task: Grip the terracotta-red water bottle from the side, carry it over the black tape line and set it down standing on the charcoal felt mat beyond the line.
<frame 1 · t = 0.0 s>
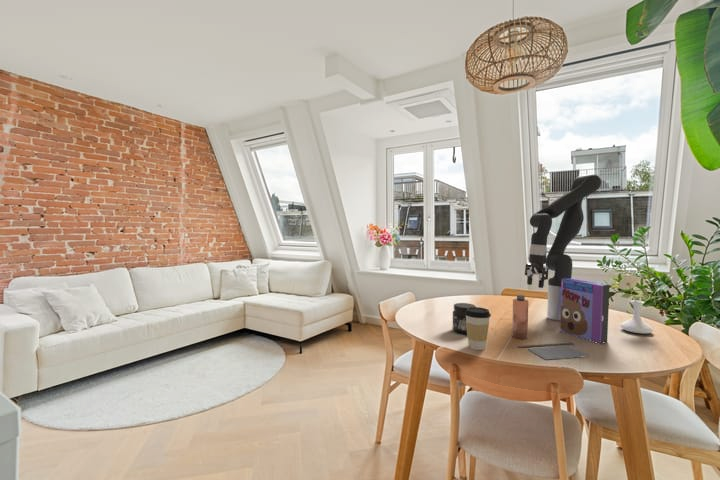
hand: (534, 286, 174), 17 cm above the table, tool pointing down, fingers open, 8 cm apart
coffee cup: (476, 347, 137), on the table
flower in vase: (633, 331, 156), on the table
supplement container: (464, 332, 157), on the table
tape line: (545, 345, 139), on the table
water bottle: (519, 337, 149), on the table
felt mat: (558, 353, 131), on the table
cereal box: (582, 337, 150), on the table
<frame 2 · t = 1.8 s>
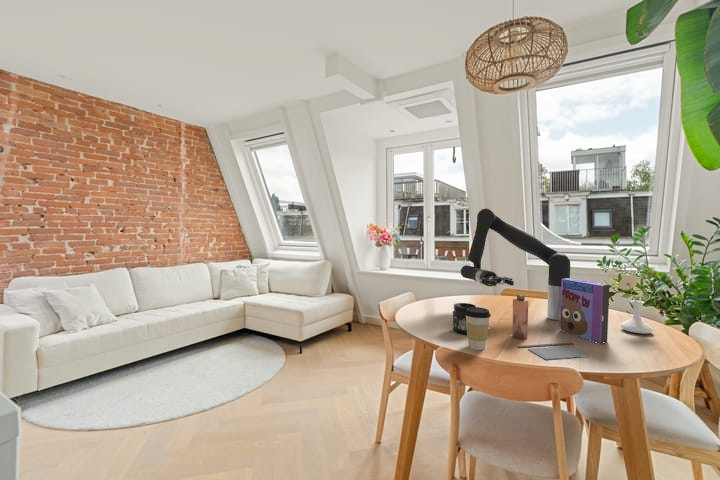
hand: (504, 283, 160), 21 cm above the table, tool horizontal, fingers open, 8 cm apart
nothing on the table moved.
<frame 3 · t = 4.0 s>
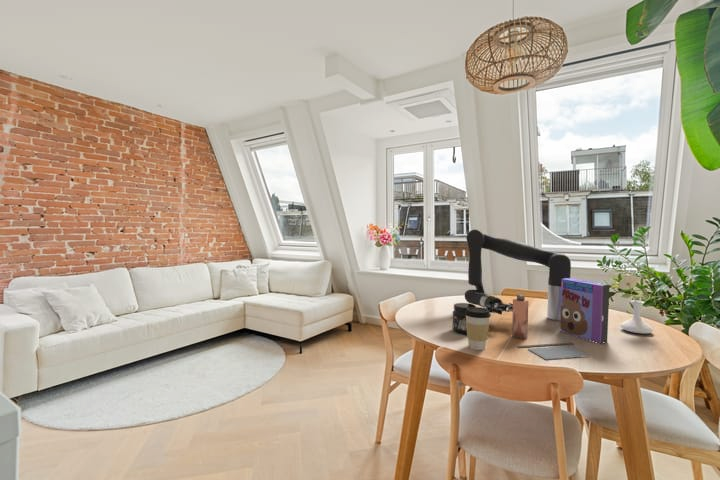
hand: (510, 311, 156), 9 cm above the table, tool horizontal, fingers open, 8 cm apart
nothing on the table moved.
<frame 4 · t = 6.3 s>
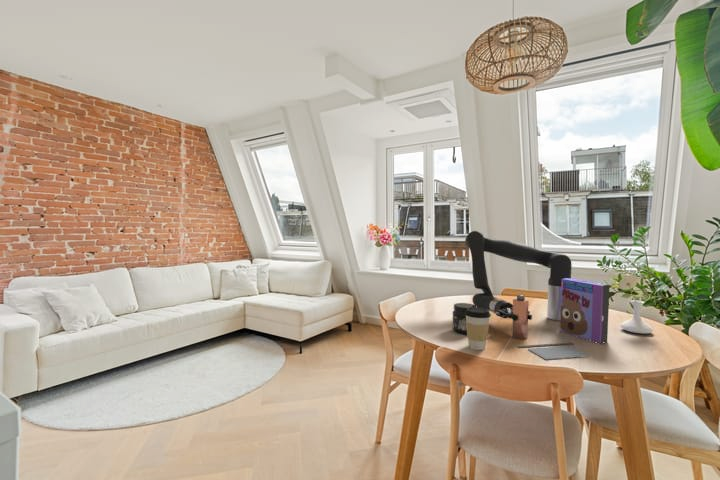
hand: (523, 317, 146), 9 cm above the table, tool horizontal, fingers closed on water bottle, 6 cm apart
water bottle: (519, 337, 149), on the table, touching gripper
everything else where it was.
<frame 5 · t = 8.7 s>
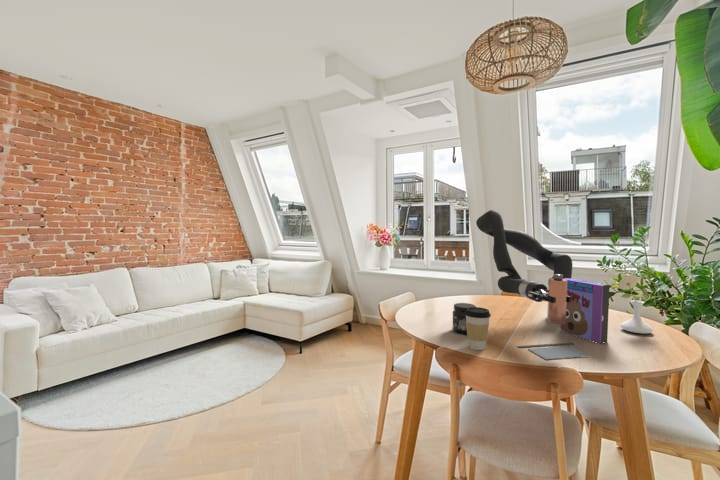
hand: (562, 300, 128), 21 cm above the table, tool horizontal, fingers closed on water bottle, 6 cm apart
water bottle: (556, 322, 131), point 12 cm above the table, touching gripper
everything else where it was.
when the fingers open (11 cm above the table, at t = 11.1 s): water bottle drops 1 cm, resting on felt mat.
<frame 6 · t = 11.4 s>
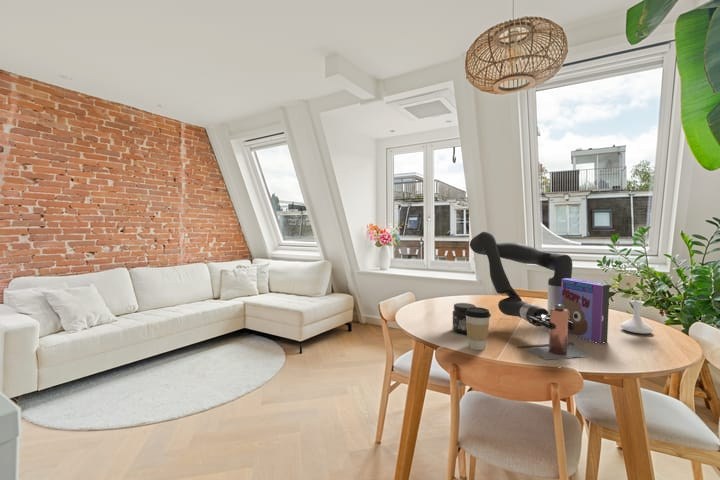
hand: (562, 326, 128), 11 cm above the table, tool horizontal, fingers open, 8 cm apart
water bottle: (557, 351, 131), resting on felt mat
everything else where it was.
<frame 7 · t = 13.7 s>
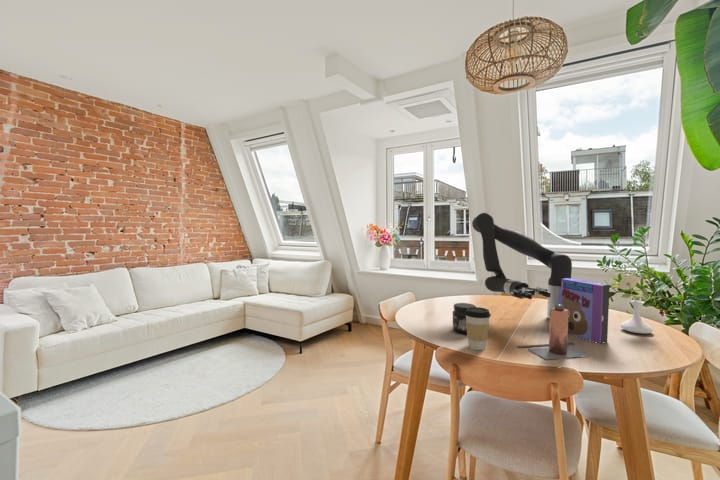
hand: (540, 295, 143), 19 cm above the table, tool horizontal, fingers open, 8 cm apart
nothing on the table moved.
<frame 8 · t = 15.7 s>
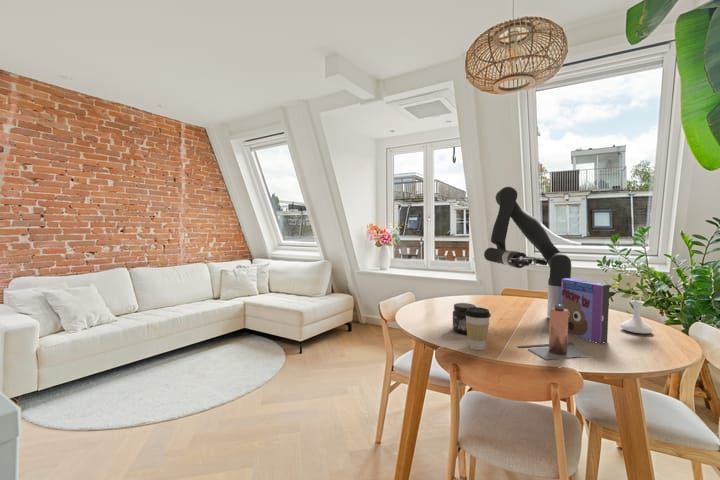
hand: (537, 263, 147), 32 cm above the table, tool horizontal, fingers open, 8 cm apart
nothing on the table moved.
at the end: water bottle inside the target area on the felt mat (0.1 cm from its centre), point 0.4 cm above the felt mat's base; water bottle tilted 0°; the gripper is holding nothing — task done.
